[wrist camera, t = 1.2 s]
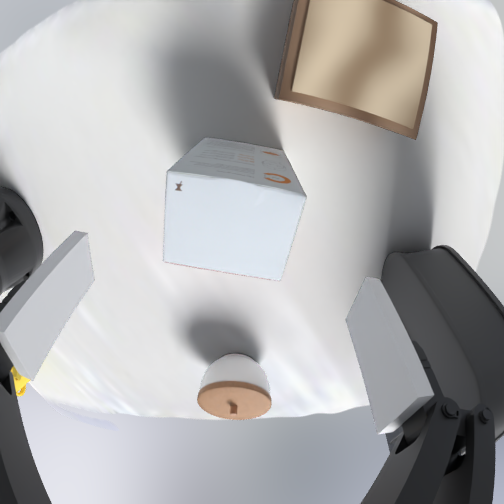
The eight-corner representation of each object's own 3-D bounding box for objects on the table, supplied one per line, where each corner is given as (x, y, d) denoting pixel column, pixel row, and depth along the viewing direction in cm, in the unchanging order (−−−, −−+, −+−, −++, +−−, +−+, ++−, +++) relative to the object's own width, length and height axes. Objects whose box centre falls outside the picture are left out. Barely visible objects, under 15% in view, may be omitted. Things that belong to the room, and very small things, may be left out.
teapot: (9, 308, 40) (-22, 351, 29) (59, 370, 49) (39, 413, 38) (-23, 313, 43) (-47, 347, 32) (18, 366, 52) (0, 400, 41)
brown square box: (273, 98, 24) (279, 98, 18) (295, -8, 18) (305, -32, 12) (387, 129, 25) (418, 140, 19) (407, 31, 19) (439, 22, 13)
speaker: (402, 355, 43) (443, 478, 22) (358, 365, 44) (388, 498, 22) (434, 229, 31) (554, 384, 9) (375, 236, 31) (483, 432, 10)
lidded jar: (212, 383, 47) (206, 428, 39) (195, 345, 41) (185, 397, 33) (272, 380, 46) (274, 427, 38) (266, 340, 40) (268, 395, 32)
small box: (196, 195, 29) (159, 263, 18) (204, 135, 26) (163, 168, 15) (272, 208, 30) (282, 284, 19) (286, 150, 27) (308, 193, 15)
